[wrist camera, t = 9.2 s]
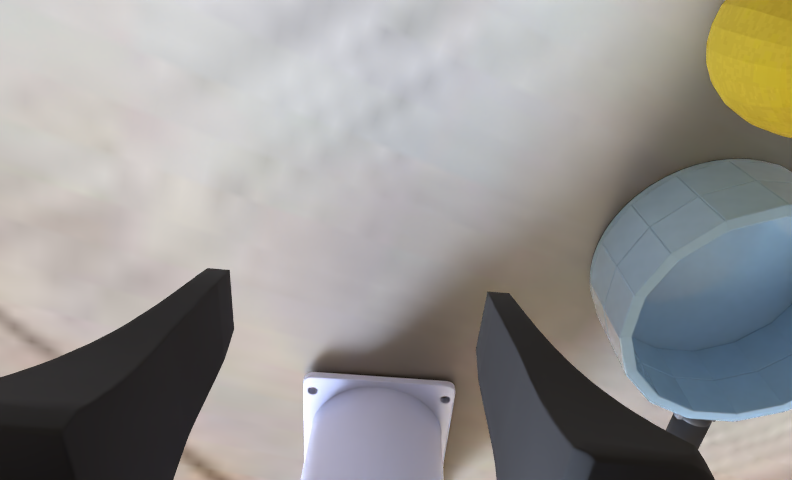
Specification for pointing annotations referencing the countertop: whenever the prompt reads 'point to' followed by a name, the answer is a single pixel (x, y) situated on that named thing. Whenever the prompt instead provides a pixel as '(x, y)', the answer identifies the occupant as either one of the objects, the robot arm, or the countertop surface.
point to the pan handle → (689, 428)
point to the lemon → (754, 61)
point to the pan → (703, 290)
